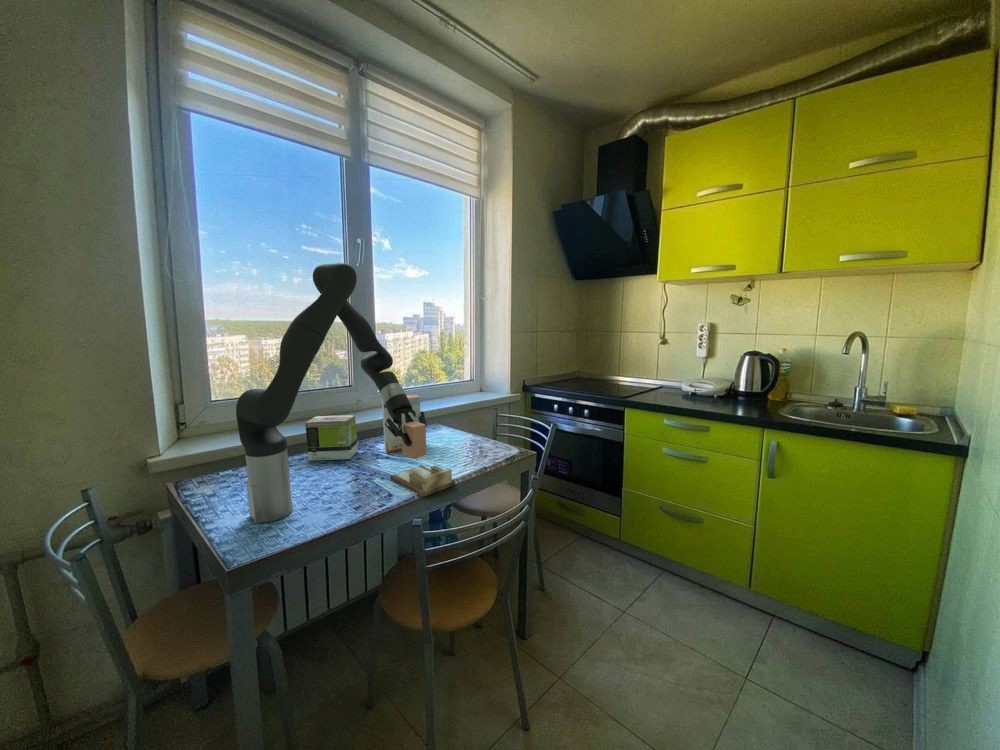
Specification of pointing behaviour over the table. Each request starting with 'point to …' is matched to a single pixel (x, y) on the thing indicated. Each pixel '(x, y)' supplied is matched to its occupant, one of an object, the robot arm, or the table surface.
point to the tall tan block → (415, 440)
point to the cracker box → (389, 439)
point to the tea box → (331, 437)
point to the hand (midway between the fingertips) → (417, 443)
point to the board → (424, 479)
